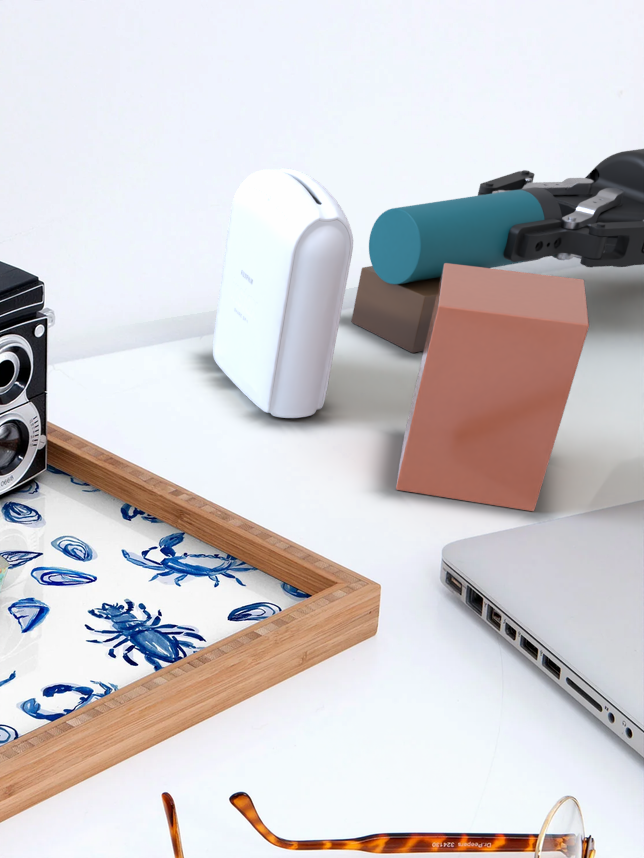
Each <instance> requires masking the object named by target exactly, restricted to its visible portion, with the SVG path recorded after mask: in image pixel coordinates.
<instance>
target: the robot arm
mask: <svg viewBox="0 0 644 858" xmlns="http://www.w3.org/2000/svg"><path fill="white" fill-rule="evenodd" d="M534 179H535V173H534V172H532V171H529V170H527V169H523V170H518V171H515V172H512V173H509V174H505V175H502V176H500V177H497V178H493V179H491V180H488V181H485V182H484V181H483V182H482V183H479V184H480V185H479V188H478V192H477V196H479V195H486V194H492V193H499V192H506V191H512V190H519V189H526V188H533V187H539V188H543V189H545V190H547V191H549V192H550V193H551V194H552V195H553V196H554V197H555V199H556V200H557V202H558V204H559V207H560V210H561V214H562V221H559V220H556V219H554V218H553V219H547V220H541V221H535V222H528V223H522V224H516V225H514V226H513V227H512V228H511V229H510V231H509V234H508V239H507V243H506V247H505V249H504V254H503V255H504V258H505V259H507V260H510V261H512V262H520V261H525V260H531V259H537V258H541V259H543V258H548V257H552V258H554V259H556V260H558V261H569V260H572V259H575V258H576V259H579V260H580V261H579V264H580V265H582V266H584V267H586V268H599V267H601V268H603V267H614V268H627V267H633V266H643V265H644V148H637V149H631V150H630V149H629V150H625V151H619V152H616V153H614V154H611V155H609V156H608V157H606V158H604V159H603V160H601V161H600V162H599V163H597V164H596V166H594V168H593V169H592V170H591V171H590V172H589V173H588V174H587V175H586V176H585V177H567V178H566V179H564V180H563V181H547V182H546V181H543V182H541V181H539V182H538V181H537V182H534Z"/></svg>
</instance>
